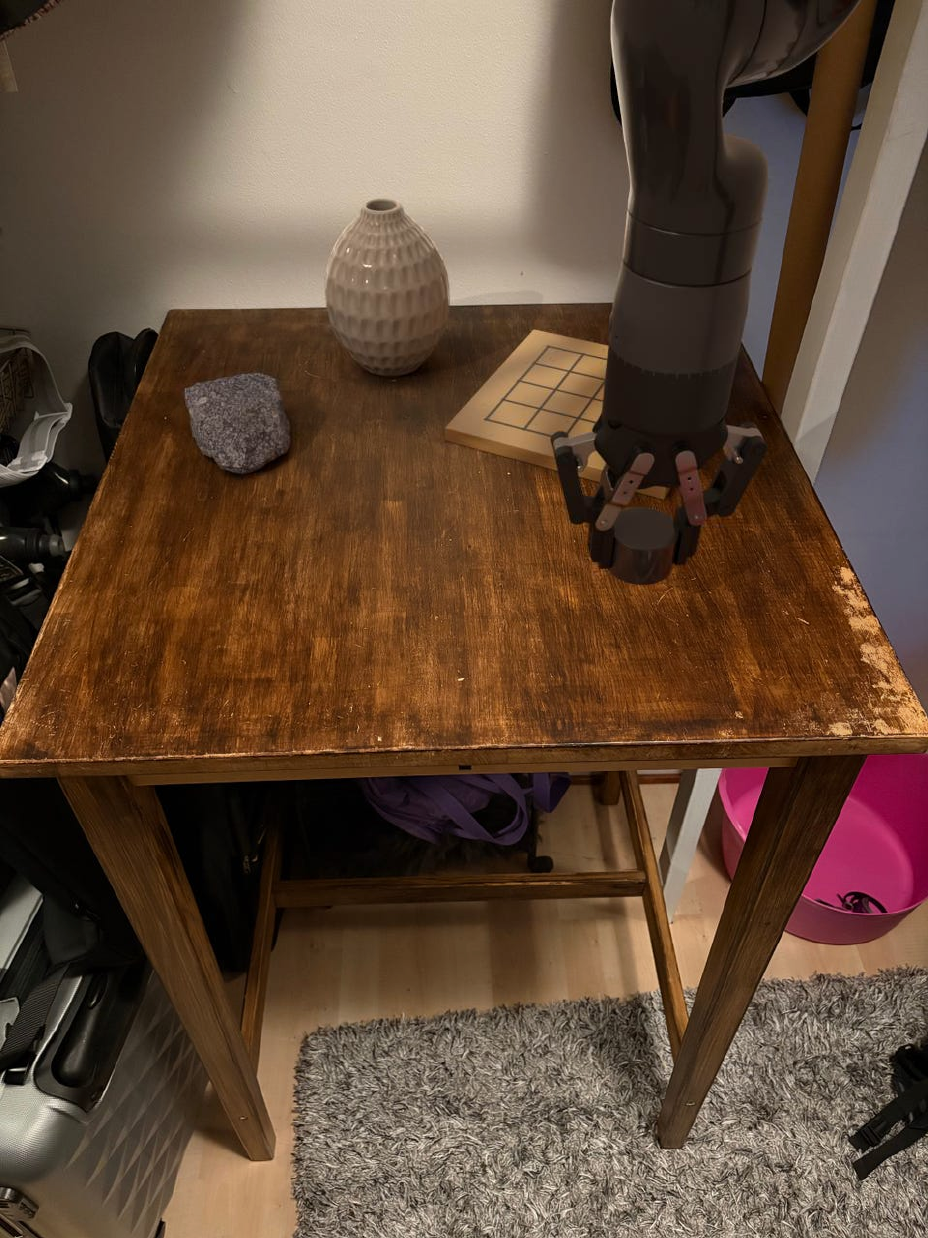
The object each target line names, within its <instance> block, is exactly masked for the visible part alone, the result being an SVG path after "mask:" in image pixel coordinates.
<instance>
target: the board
mask: <svg viewBox="0 0 928 1238" xmlns="http://www.w3.org/2000/svg"><path fill="white" fill-rule="evenodd" d="M608 346H609V345H608V344H603V343H598V342H594V341H588V340H584V339H579V338H576V337H571V336H565V335H562V334H557V333H552V332H547V331H543V330H539V329H538V330H537V329H533V330H531V332H530V333H529V334H528V335H527V336H526V337H525V338H524V339H523V340H522V342H521V343H519V345H518V346H517V347H516V348H515V349H514V351H513V352H512V353H510V355H509V356H508V357H507V358H506V359H505V361H504V362H503V363H502V364H501V365H500V366H499V367H498V368H497V370H495V371H494V372H493V374H491V376H490V377H489V378H488V379H487V381H485V382H484V384H483V385H482V386H481V387H480V388H479V389H478V390H477V392H476V393H475V394H473V396H472V397H471V398H470V399H469V400H468V401H467V403H466V404H465V405H464V406H463V407H462V408H461V409H459V411H458V413H457V414H455V416H454V417H453V418H452V419H451V420H450V421H449V422H448V424H447V425H446V426H444V441H446V442H449V443H453V444H456V445H460V446H464V447H467V448H471V449H475V450H479V451H482V452H486V453H490V454H493V455H497V456H499V457H500V456H501V457H505V458H507V459H512V460H515V461H519V462H523V463H528V464H531V465H533V466H537V467H542V468H546V469H548V470H553V471H556V472H558V470H557V466H556V461H555V457H554V453H553V449H552V445H551V436H552V435H553V434H554V433H555V432H558V431H564V432H566V433H567V434H568V436H569V437H572V436H576V435H580V434H584V433H587V432H591V431H592V428H593V426H594V424H595V423H596V421H597V420H598V418H599V417H600V415H601V412H602V404H603V394H604V385H605V375H606V365H607V355H608ZM605 464H606V462H605V461H604V460H603V459H602V457H601V456H600V455H599V454H598V452H597V451H594V452H592V453H591V454H590V455H589V457H588V464H587V466H586V467H585V468H584V471H583V472H578V475H579V478H582V479H585V480H590V481H593V482H596V483H600V479H601V473H602V470H603V468H604V466H605ZM670 490H671V488H665V487H659V486H654V487H650V488H646V489H638V490H636V492H635V493H638V494H641V495H645V496H649V497H653V498H656V499H659V500H663V501H664V500H665V499H666V498H667V496H668V494H669V492H670Z"/></svg>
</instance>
